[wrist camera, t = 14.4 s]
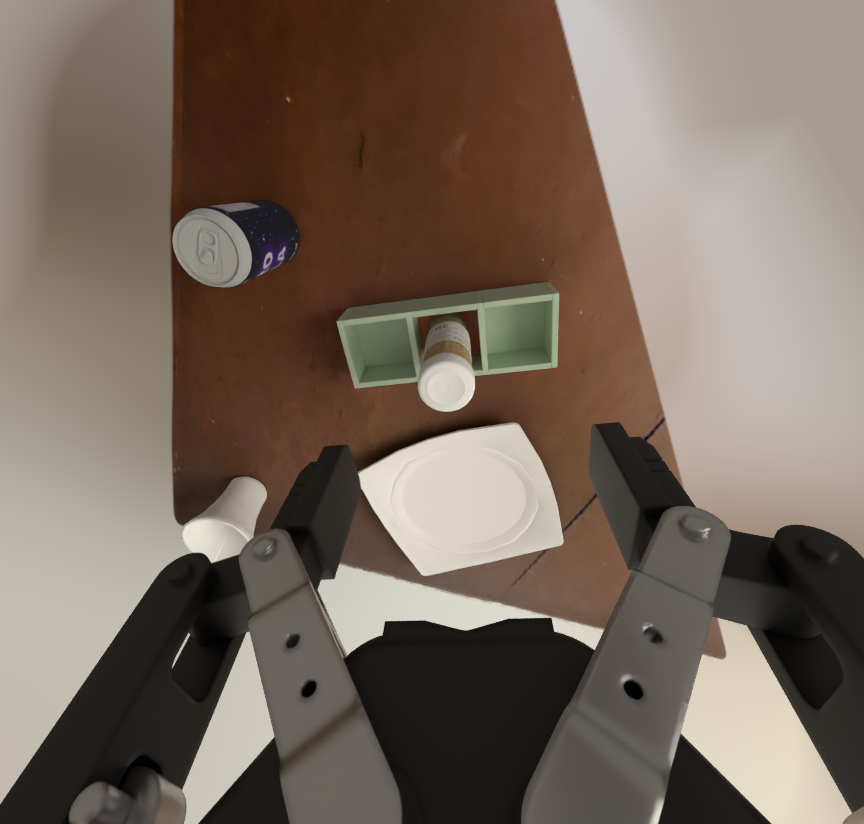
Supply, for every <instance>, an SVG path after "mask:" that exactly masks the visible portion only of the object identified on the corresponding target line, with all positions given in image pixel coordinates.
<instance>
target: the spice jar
mask: <svg viewBox="0 0 864 824" xmlns="http://www.w3.org/2000/svg"><path fill="white" fill-rule="evenodd" d="M469 333H470V328H469V325H468V323H467V321H466V319H465V318H464V317H463V316H462V315H460V314H458V313H455V312H454V313H446V314H439V315H436V316H435V317H434V318H433V319H432V321H431V322H430V325H429V327H428V336H427V340H426V345H425V350H424V356H423V365H422V367H421V369H420V372H419V378H418V391H419V395H420V397H421V398H422V400H423V401H424V402H425V403H426V404H427V405H428V406H429V407H431V408H433V409H435V410H438V411H444V412H449V411H455V410H458V409H460V408H462V407H464V406H465V405H466V404H467V403H468V402H469V401H470V400H471V398H472V396H473V394H474V390H475V376H474V371H473V369H472V366H471V365H472V359H471V346H470V337H469V335H470V334H469Z"/></svg>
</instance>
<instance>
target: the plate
mask: <svg viewBox="0 0 864 824" xmlns="http://www.w3.org/2000/svg"><path fill="white" fill-rule="evenodd" d="M358 475H359V478H360V484H361V489H362V490H363V492H364V494H365V496H366V497H367V499H368V501H369V503H370V504H371V506H372V508H373V510H374V511H375V513H376V514H377V516H378V517H379V519H380V520H381V522H382V523H383V525H384V526H385V528H386V529H387V531H388V532H389V533H390V535H391V536H392V538H393V539H394V540H395V542H396V543H397V544H398V546H399V547H400V548H401V549H402V551H403V552H404V553H405V554H406V556H407V557H408V558H409V559H410V561H411V562H412V563H413V564H414V566H415V567H416V568H417V569H418V571H419V572H420V573H421V574H422V575H424V576H428V575H433V574H438V573H442V572H447V571H451V570H456V569H460V568H465V567H470V566H474V565H479V564H484V563H488V562H493V561H497V560H501V559H505V558H510V557H514V556H518V555H522V554H526V553H531V552H535V551H539V550H543V549H548V548H552V547H556V546H561V545H562V544H563V543H564V541H563V535H562V529H561V523H560V517H559V511H558V506H557V502H556V499H555V495H554V492H553V489H552V486H551V482H550V480H549V478H548V475H547V473H546V471H545V468H544V466H543V464H542V461H541V459H540V458H539V456H538V454H537V453H536V451H535V449H534V448H533V446H532V445H531V443H530V441H529V440H528V438H527V436H526V435H525V433H524V432H523V430H522V428H521V427H520V425H519V424H517V423H515V422H511V423H505V424H498V425H491V426H484V427H477V428H470V429H463V430H458V431H454V432H451V433H447V434H443V435H440V436H436V437H432V438H429V439H426V440H423V441H421V442H418V443H415V444H413V445H410V446H408V447H405V448H402V449H400V450H397V451H396V452H394V453H392V454H390V455H388V456H386V457H384V458H383V459H381V460H379V461H377V462H375V463H373V464H371V465H369V466H368V467H366V468H364V469H362V470H360V471H358Z"/></svg>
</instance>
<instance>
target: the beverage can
mask: <svg viewBox="0 0 864 824" xmlns="http://www.w3.org/2000/svg"><path fill="white" fill-rule="evenodd" d="M172 240H173V248H174V252H175V255H176V257H177V259H178V261H179V262H180V264H181V266H182V267H183V268H184V269H185V271H186V272H187V273H188V274H189V275H190V276H192V277H193V278H194V279H196V280H197V281H199V282H201V283H203V284H206V285H209V286H215V287H222V288H232V287H236V286H239V285H241V284H243V283H245V282H247V281H249V280H251V279H253V278H255V277H257V276H259V275H262V274H264V273H266V272H268V271H270V270H272V269H274V268H276V267H278V266H280V265H282V264H284V263H286V262H288V261H290V260H291V259H292V258H293V257H294V256H295V254H296V253H297V251H298V248H299V241H300V238H299V231H298V228H297V225H296V223H295V221H294V219H293V218H292V216H291V215H290V214H289V212H288V211H287V210H286V209H284V208H283V207H282V206H280V205H279V204H277V203H274V202H272V201H267V200H261V201H252V202H243V203H234V204H225V205H216V206H206V207H199V208H195V209H193V210H191V211H189V212H188V213H187V214H186V215H185V216H184V217H183V218H182V219H181V220H180V221H179V222H178V223H177V225H176V227H175V228H174V232H173V238H172Z"/></svg>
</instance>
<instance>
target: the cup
mask: <svg viewBox="0 0 864 824" xmlns="http://www.w3.org/2000/svg"><path fill="white" fill-rule="evenodd" d="M266 497H267V492H266V489H265V487H264V486H263V484H262V483H261V482H259V481H258V480H256V479H254V478H251V477H247V476H242V477H237V478H234V479H232V480H231V482H230V484H229V485H228V487H227V488H226V490H225V491H224V493H223V494H222V495H221V496H220V497H219V498H218V499H217V500H216V501H215V502H214V503H213V504H212V505H211V506H209V508H208V509H207V510H206V511H204V512H203V513H202V514H200V515H198V516H197V517H195V518H193V519H192V520H190V521H189V522H188V523H186V524H185V525H184V527H183V529H182V531H181V536H182V540H183V542H184V544H185V545H186V546H187V548H188V549H189V550H190V551H191V552H192V553H203V554H205V555H206V556H207V557H208V558H209V560H210V561H211V563H213V562H217V561H220V560H223V559H226V558H229V557H232V556H235V555H238V554H240V552H241V550H242V549H243V547H244V546H245V545H246V543H247V542H248V541H250V540H251V539H252V538H253V533H254V529H255V524H256V519H257V516H258V514H259V512H260V510H261V507H262V505H263V503H264V502H265V500H266Z"/></svg>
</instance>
